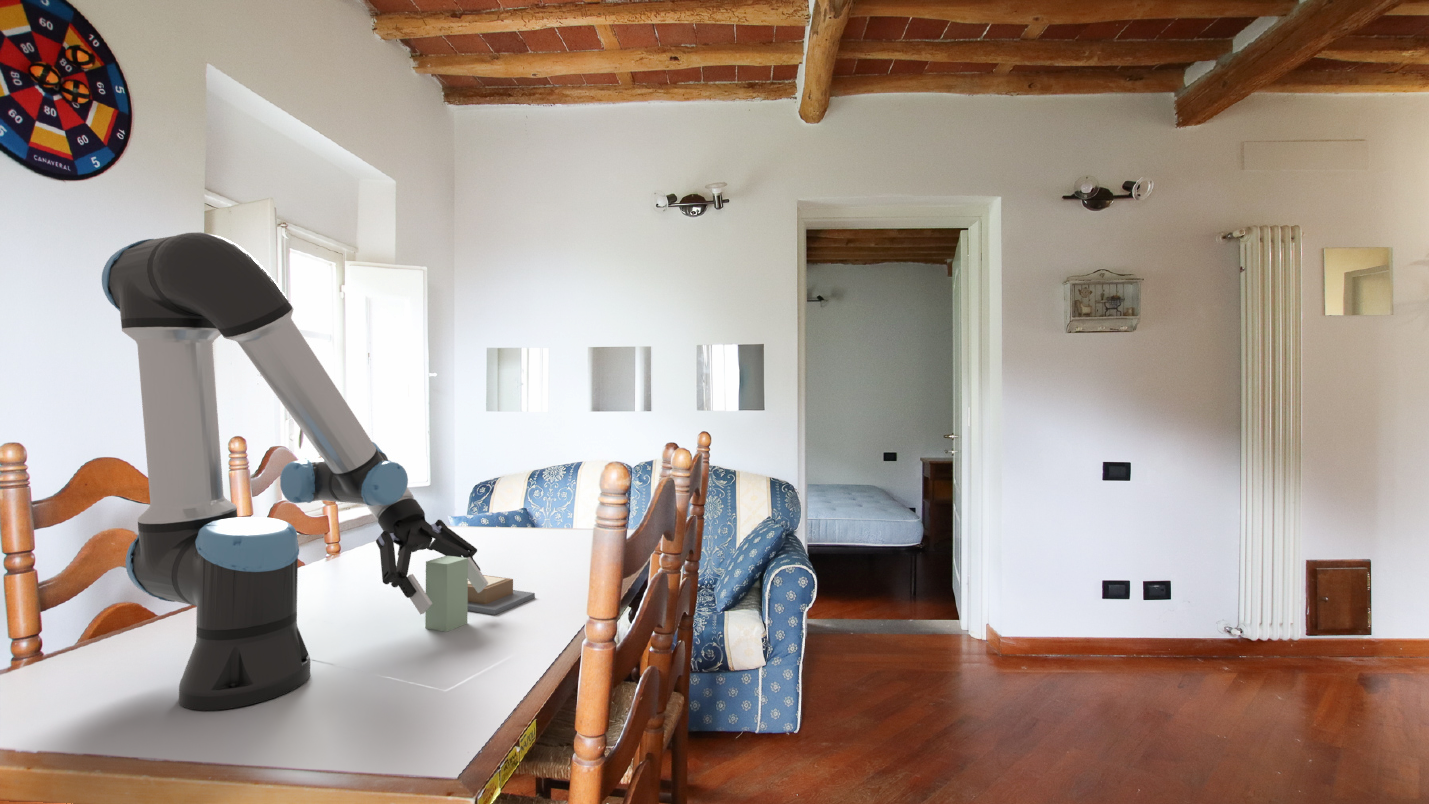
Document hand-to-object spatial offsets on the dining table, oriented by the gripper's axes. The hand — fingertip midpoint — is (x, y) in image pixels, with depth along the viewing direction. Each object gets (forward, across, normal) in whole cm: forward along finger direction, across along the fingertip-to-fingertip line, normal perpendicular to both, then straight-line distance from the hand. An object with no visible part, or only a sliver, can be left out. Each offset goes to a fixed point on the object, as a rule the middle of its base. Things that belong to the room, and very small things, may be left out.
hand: (456, 598), depth 115 cm
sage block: (+2, 0, -5) cm, 6 cm away
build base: (-1, -14, -8) cm, 16 cm away
